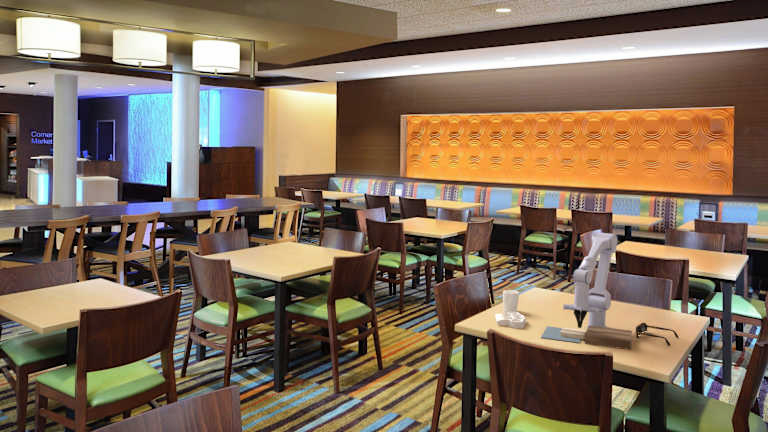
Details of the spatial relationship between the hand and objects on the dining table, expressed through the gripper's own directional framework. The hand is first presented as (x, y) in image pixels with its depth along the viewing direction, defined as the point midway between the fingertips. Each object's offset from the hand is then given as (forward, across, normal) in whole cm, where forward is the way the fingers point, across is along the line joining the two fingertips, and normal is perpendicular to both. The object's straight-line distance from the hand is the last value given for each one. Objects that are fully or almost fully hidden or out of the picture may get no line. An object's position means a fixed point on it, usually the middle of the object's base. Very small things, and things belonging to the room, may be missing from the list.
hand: (579, 327), depth 263 cm
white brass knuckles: (+5, -31, +9) cm, 33 cm away
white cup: (+5, -36, +29) cm, 46 cm away
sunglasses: (+5, +31, +14) cm, 34 cm away
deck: (+4, +12, 0) cm, 13 cm away
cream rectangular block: (+4, -2, 0) cm, 5 cm away
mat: (+4, -7, 0) cm, 8 cm away
